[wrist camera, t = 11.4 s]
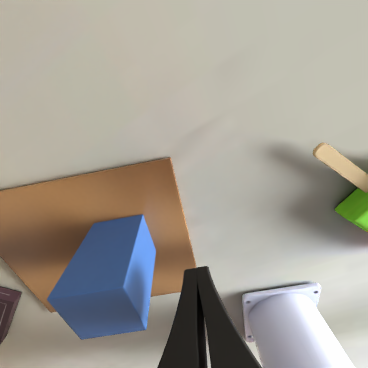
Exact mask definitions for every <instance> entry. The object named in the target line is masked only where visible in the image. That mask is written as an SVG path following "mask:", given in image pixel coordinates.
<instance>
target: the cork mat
mask: <svg viewBox="0 0 368 368" xmlns="http://www.w3.org/2000/svg"><path fill="white" fill-rule="evenodd" d="M141 214H143V216H144V219H145V221H146V224H147V227H148V230H149V233H150V235H151V238H152V241H153V244H154V247H155V249H156V255H155V263H154V272H153V280H152V288H151V296H150V297H152V296H158V295H164V294H170V293H177V292H181V289H182V284H183V276H184V271H185V270H186V269H192V268H196V263H195V259H194V255H193V250H192V246H191V242H190V238H189V233H188V229H187V225H186V221H185V216H184V212H183V208H182V204H181V199H180V195H179V191H178V186H177V182H176V178H175V174H174V169H173V165H172V161H171V157H168V158H163V159H158V160H153V161H148V162H143V163H138V164H133V165H128V166H123V167H118V168H113V169H107V170H102V171H97V172H92V173H87V174H82V175H77V176H72V177H67V178H62V179H57V180H52V181H46V182H41V183H36V184H31V185H26V186H21V187H16V188H11V189H6V190H1V191H0V257H1V258H2V259H3V260H4V261H5V262H6V263H7V264H8V265H9V267H10V268H11V269H12V270H13V271H14V272H15V273H16V274H17V275H18V277H19V278H20V279H21V280H22V281H23V282H24V283H25V284H26V286H27V287H28V288H29V289H30V290H31V291H32V292H33V293H34V294H35V296H36V297H37V298H38V299H39V300H40V301H41V302H42V303H43V304H44V306H45V307H46V308H47V309H48V310H49V311H50V312H57V311H56V310H55V309H54V308H53V307H52V305H51V304H50V303H49V302H48V301H47V298H48V296H49V295H50V293H51V291H52V290H53V288H54V287H55V285H56V283H57V282H58V280H59V279H60V277H61V275H62V274H63V272H64V270H65V269H66V267H67V266H68V264H69V262H70V261H71V259H72V258H73V256H74V254H75V253H76V251H77V249H78V248H79V246H80V245H81V243H82V241H83V240H84V238H85V237H86V235H87V233H88V232H89V230H90V228H91V227H92V225H93V224H94V223H98V222H103V221H109V220H114V219H120V218H125V217H130V216H136V215H141Z"/></svg>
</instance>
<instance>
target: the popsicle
mask: <svg viewBox="0 0 368 368" xmlns="http://www.w3.org/2000/svg"><path fill="white" fill-rule="evenodd" d="M313 155H314V156H315V157H316V158H317V159H319V160H320V161H322V162H323V163H324V164H326V165H327V166H329V167H330V168H331V169H333V170H334V171H336V172H337V173H338V174H340V175H341V176H343V177H344V178H345V179H347V180H348V181H350V182H351V183H352V184H354V185H355V186H357V187H358V188H357V189H356V190H355V191H354V192H353V193H351V194H350V195H349V196H348V197H347V198H346V199H345V200H344V201H343V202H341V203H340V204H339V205H338V206H337V207H336V208H335V211H336V212H337V213H338V214H340V215H341V216H342V217H344V218H345V219H347V220H349V221H350V222H352V223H353V224H355V225H357V226H358V227H360V228H361V229H363V230H365V231H366V232H368V174H367V173H365V172H364V171H363V170H361V169H360V168H359V167H357V166H356V165H355V164H353V163H352V162H351V161H350V160H348V159H347V158H346V157H344V156H343V155H342V154H340V153H339V152H338V151H336V150H335V149H334V148H332V147H331V146H330V145H328V144H326V143H320V144H319V145H318V146H317V147H316V148H315V149H314V151H313Z"/></svg>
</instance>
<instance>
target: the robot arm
mask: <svg viewBox="0 0 368 368" xmlns="http://www.w3.org/2000/svg"><path fill="white" fill-rule="evenodd" d="M320 290H321V286H320V285H319V284H318V283H309V284H303V285H297V286H290V287H284V288H277V289H271V290H265V291H258V292H252V293H246V294H244V295H243V296H242V304H243V316H244V328H245V339H246V341H247V342H255V344H256V347H257V350H258V353H259V357H260V360H261V363H262V366H263V368H355V367H354V366H353V364H352V363H351V361H350V360H349V358H348V356H347V355H346V353H345V352H344V350H343V349H342V347H341V346H340V344H339V342H338V341H337V339H336V338H335V336H334V335H333V333H332V332H331V330H330V329H329V327H328V325H327V324H326V322H325V321H324V319H323V318H322V316H321V315H320V313H319V312H318V310H317V304H318V299H319V295H320ZM204 318H205V320H204ZM205 323H206V329H207V335H208V344H209V353H210V361H211V368H262V367H261V365H260V364H259V362H258V361H257V360H256V358H255V357H254V355H253V353H252V352H251V350H250V349H249V347H248V346H247V344H246V343H245V341H244V339H243V338H242V336H241V335H240V333H239V331H238V330H237V328H236V326H235V325H234V323H233V321H232V319H231V318H230V316H229V314H228V312H227V310H226V308H225V306H224V304H223V302H222V300H221V298H220V296H219V294H218V292H217V290H216V288H215V285H214V283H213V280H212V278H211V275H210V271H209V267H207V266H204V267H198V268H192V269H186V270H185V271H184V276H183V284H182V289H181V294H180V299H179V303H178V307H177V311H176V315H175V318H174V321H173V325H172V328H171V331H170V335H169V338H168V341H167V344H166V346H165V349H164V352H163V355H162V357H161V360H160V363H159V365H158V368H208V367H207V354H206V337H205Z"/></svg>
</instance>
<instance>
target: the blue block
mask: <svg viewBox="0 0 368 368" xmlns="http://www.w3.org/2000/svg"><path fill="white" fill-rule="evenodd" d="M155 255H156V249H155V247H154V244H153V241H152V238H151V235H150V233H149V230H148V227H147V224H146V221H145V219H144V216H143V214H141V215H136V216H130V217H125V218H120V219H114V220H109V221H103V222H98V223H94V224H93V225H92V227H91V228H90V230H89V232H88V233H87V235H86V237H85V238H84V240H83V241H82V243H81V245H80V246H79V248H78V249H77V251H76V253H75V254H74V256H73V258H72V259H71V261H70V262H69V264H68V266H67V267H66V269H65V270H64V272H63V274H62V275H61V277H60V279H59V280H58V282H57V283H56V285H55V287H54V288H53V290H52V291H51V293H50V295H49V296H48V298H47V301H48V302H49V303H50V304H51V305H52V307H53V308H54V309H55V310H56V311H57V312H58V313H59V315H60V316H61V317H62V318H63V319H64V320H65V322H66V323H67V324H68V325H69V326H70V327H71V328H72V330H73V331H74V332H75V333H76V334H77V335H78V337H79V338H80V339H89V338H95V337H102V336H109V335H115V334H122V333H129V332H135V331H142V330H146V328H147V320H148V312H149V304H150V296H151V288H152V280H153V272H154V263H155Z"/></svg>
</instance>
